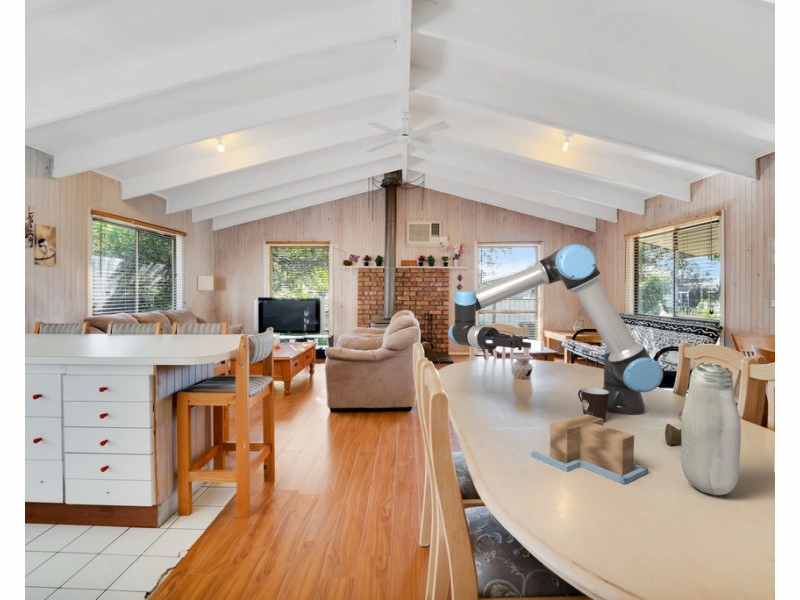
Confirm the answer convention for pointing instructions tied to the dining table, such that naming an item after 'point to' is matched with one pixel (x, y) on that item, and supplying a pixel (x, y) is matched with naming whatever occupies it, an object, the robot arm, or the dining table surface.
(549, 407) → the dining table surface
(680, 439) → the kendama
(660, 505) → the dining table surface
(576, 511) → the dining table surface
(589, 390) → the coffee mug
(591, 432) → the t block
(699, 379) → the glass bottle
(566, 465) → the t outline
